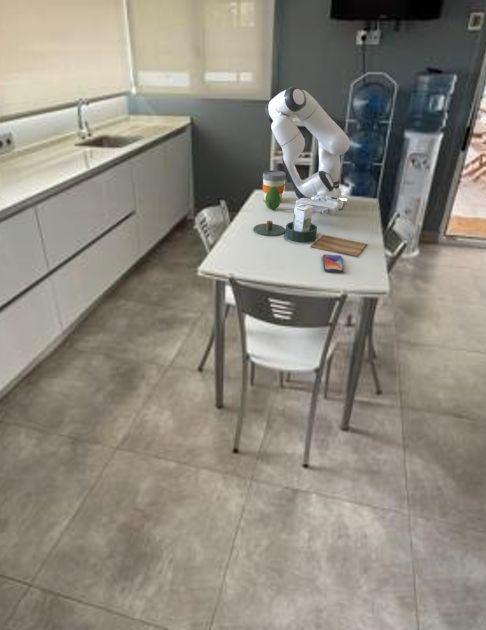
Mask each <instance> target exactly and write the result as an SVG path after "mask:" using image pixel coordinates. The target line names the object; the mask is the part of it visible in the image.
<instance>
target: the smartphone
mask: <svg viewBox="0 0 486 630" xmlns="http://www.w3.org/2000/svg"><path fill="white" fill-rule="evenodd" d="M322 261H323V270H324V272H334V273H343V272H344V270H345V269H344V263H343V257H342V256H341V255H338V254H327V253H326V254H325V253H324V254H323V255H322Z"/></svg>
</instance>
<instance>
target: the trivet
mask: <svg viewBox="0 0 486 630" xmlns="http://www.w3.org/2000/svg"><path fill="white" fill-rule="evenodd" d="M366 246H367V243H365V242H360V241H355V240H350V239H345V238H340V237H335V236H330V235H325V234H322V235H321V236H320V237H319V238H318V239H317V240H315V241H314V242H313V244H312V245H311V248H314V249H318V250H323V251H327V252H332V253H337V254H340V255H346V256H350V257H356V258H358V257H359V255H360V254H361V253H362V252H363V251H364V249H365V247H366Z"/></svg>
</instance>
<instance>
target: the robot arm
mask: <svg viewBox="0 0 486 630" xmlns="http://www.w3.org/2000/svg"><path fill="white" fill-rule="evenodd" d="M264 112H265V116H266V118H267V120H268V121H269V123H270V124H271V125H270V128H271V131H272V133H273V136H274V138H275V141H276V142H277V144H278V145H279V147H280V148H281V151H282V156H281V162H282V165H283V167H284V170H285V173H286V175H287V176H288V178H289V180H290V183H291V185H292V187H293V191H294V193H295V195H296V197H297V199H296V201H295V206H297V205H300V204H307V205H310V206H312V207H313V210H312V212H316V213H319V214H320V215H325V214H327V215H332V216H337V214H338V212H339V210H342V209H343V206H344V203H345V202H347V201H348V199H347V198H341V197H342V191H341V188H340V184H341V183H340V182H341V178H340V174H341V167H342V162H341V159H340V157H341V155H344V154H346V153H347V152H348V151H349V149H350V146H351V141H350V137H349V136H348V135H347V134H346V132H345V131H344V130H343V129H342V128H341V127H340V126H339V124H337V123H336V121H335V120H334V119H332V118H331V117H330V115H329V114H328V113H327V112H326V111H325V110H324V108H323V107H322V105H321V104H320V103H319V102H318V101H317V99H315V98H314V97H313V96H312V95H311V94H310V93H309V92H308V91H306V90H305V89H302V88H300V87H299V86H295V85H294V86H291V87H288V88H286V89H285V90H282V91H281V92H279V93H277V94H276V95H275V96H273V98H270V100H269V101H268V102H266V104H265V106H264ZM293 115H295V116H296V117H297V119H299V121H300V122H301V124H303V126H304V127H305V128H306V130H307V131H309V133H310V134H311V135H312V136H314V138H315V139H316V140H317V145H318V170H317V172H315V173H313V174H311V175H309V176H308V177H306V178H304V179H301V177H300V174H299V172H298V170H297V168H296V161H297V160H298V158H299V157H300V156H301V155H302V153H303V151H304V150H305V146H306V139H305V137H304V136H303V135H304V134H303V133H302V132H301V130H300V129H299V127H298V126H297V124H296V123H295V122H294V119H293Z"/></svg>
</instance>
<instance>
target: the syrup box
mask: <svg viewBox="0 0 486 630" xmlns="http://www.w3.org/2000/svg"><path fill="white" fill-rule="evenodd" d="M312 210H313V207H312V206H310V205H307V204H300V205H297V206H296V205H295V206H294V212H293V219H292V222H293V228H292V230H294V231H299V232H308V231H310V225H311V224H312V216H313V211H312Z"/></svg>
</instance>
